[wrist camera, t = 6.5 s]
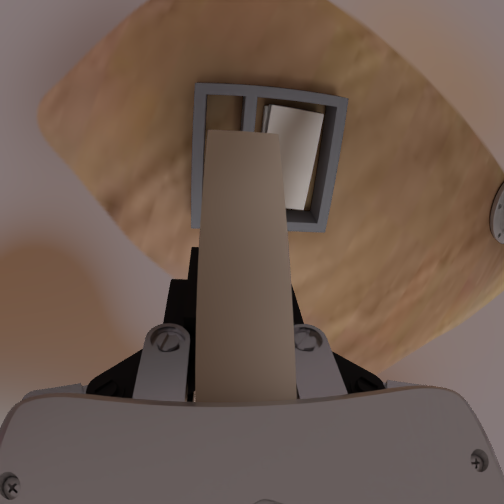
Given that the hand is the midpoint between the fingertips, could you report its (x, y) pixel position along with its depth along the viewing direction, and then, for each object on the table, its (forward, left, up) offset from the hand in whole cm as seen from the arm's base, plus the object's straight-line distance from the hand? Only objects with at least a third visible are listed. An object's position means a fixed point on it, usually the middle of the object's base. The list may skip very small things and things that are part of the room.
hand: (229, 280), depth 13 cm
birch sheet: (0, +6, -3) cm, 6 cm away
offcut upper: (-6, 0, -20) cm, 21 cm away
